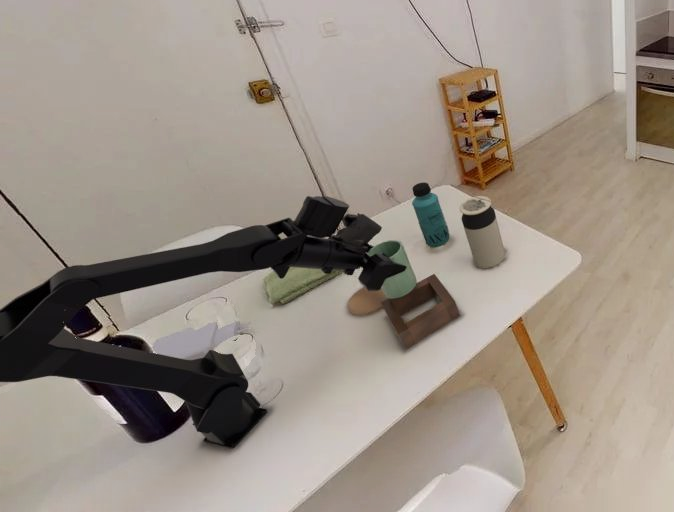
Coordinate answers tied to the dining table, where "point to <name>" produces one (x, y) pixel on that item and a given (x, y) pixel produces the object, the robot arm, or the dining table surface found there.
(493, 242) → the travel mug
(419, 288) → the cup holder
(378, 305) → the coaster
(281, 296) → the washcloth
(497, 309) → the dining table surface
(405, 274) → the cup
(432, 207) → the beverage bottle
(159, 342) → the charger
